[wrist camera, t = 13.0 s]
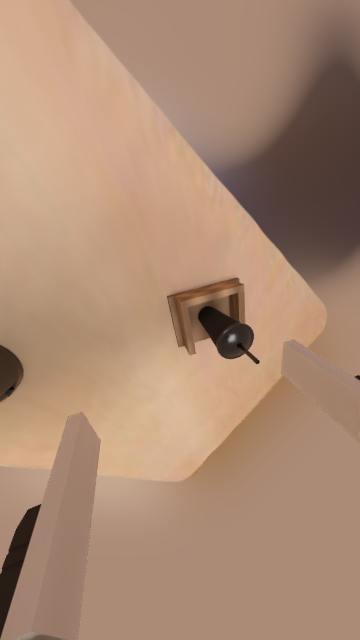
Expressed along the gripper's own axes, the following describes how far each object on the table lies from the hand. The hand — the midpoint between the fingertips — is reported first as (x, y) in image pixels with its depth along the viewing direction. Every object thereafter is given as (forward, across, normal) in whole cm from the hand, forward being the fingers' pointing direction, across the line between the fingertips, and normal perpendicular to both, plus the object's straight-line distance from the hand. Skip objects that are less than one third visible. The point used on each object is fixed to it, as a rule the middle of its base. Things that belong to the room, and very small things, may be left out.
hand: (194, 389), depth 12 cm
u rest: (+33, +13, -12) cm, 37 cm away
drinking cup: (+32, +13, -12) cm, 36 cm away
